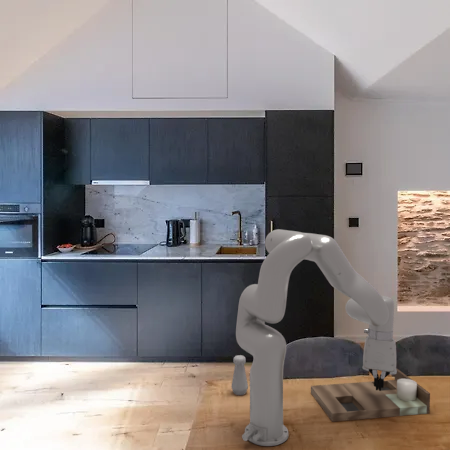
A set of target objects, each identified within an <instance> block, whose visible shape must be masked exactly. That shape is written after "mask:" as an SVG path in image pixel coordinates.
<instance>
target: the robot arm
mask: <svg viewBox="0 0 450 450" xmlns="http://www.w3.org/2000/svg"><path fill="white" fill-rule="evenodd" d="M264 246H265V247H264V248H265V250H266V251H267V253H268V254H267V256H266V257H265V258H264V260H263V262H262V263H261V266H260V269H259V275H258V281H257V283H254V284H253V283H252V284H249V285H248V286H247V287H245V288H244V290H243V291H242V292H241V295H240V297H239V300H238V301H239V302H238V307H237V308H238V310H237V317H236V328H235V338H236V343H237V345H239V347H240V348H241V349H242V350H243V351H245V352H246V353H248V354H250V355H251V356H252V357H253V361H252V364H251V366H250V371H249V423H248V424H247V425H246V426H245V428H244V433H242V435H241V438H242V440H243V441H244V442H247V441H249V442H250V443H251V444H254V445H258V446H262V447H273V446H279V445H282V444H283V443H285V442H286V441H287V440H288V438H289V430H288V428H287V426H286V425H284V366H285V365H284V364H285V359H286V354H287V342H286V339H285V337H284V335H282V333H281V332H279V331H278V330H277V329H275V328H273V327H271V326H269V325H267V324H266V323H268V324H277V323H279V322H281V321H282V320H283V318H284V316H285V313H286V308H287V299H288V298H287V297H288V290H289V289H288V288H289V281H290V277H291V274H292V271H293V270H294V269H295V267H297V266H298V264H300V263H301V262H302V261H303V260H307V261H310V262H314V263H315V264H316V265H317V267H318V268H319V269H320V271H321V272H322V274H323V275H324V277H325V279H326V280H327V281H328V283H329V284H330V285H331V286H332V287H333V288H334V289H335V290H337V291H338V292H339V293H341V294H343V295H345V296H347V297H348V298H349V299H348V300H347V302H345V312H346V314H347V315H348V316H349V317H350V318H351V319H353V320H356V321H358V322H361V323H364V324H367V325H368V328H364V329H363V330H364V331H363V333H364V334H367V335H366V337H365V341H364V345H363V346H364V347H363V357H362V367H361V368H362V370H364V371H367V372H369V373H370V374H371V375H372V377H373V381H374V386H375V387H376V390H378V388H379V391H381V387H382V388H383V387H384V381H385V378H387V377H388V376H389V375H395V374H396V373H397V370H396V369H397V345H396V340H395V338H394V322H395V321H394V319H395V318H394V316H395V301H394V299H393V298H391V297H390V296H386V295H381V294H380V292H379V291H378V290H377V289H376V288H375V286H373V284H371V283H370V282H369V281H367V280H366V279H365V277H363V276H362V275H361V274H360V273H358V272H357V271H356V270H355V269H354V267H353V265H352V264H351V263H350V261H349V259H348V258H347V256H346V255H345V253H344V252H343V250H342V248H341V247H340V244H338V242H337V241H336V239H335V238H333V237H331V236H329V235H326V234H320V233H319V234H317V233H311V232H301V231H295V230H287V229H282V228H281V229H279V228H278V229H274V230H272V231H270V232H269V233H268V234H267V235H266V238H265V240H264ZM378 371H381V374H380V375H379V373H378Z"/></svg>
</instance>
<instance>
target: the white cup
mask: <svg viewBox="0 0 450 450" xmlns="http://www.w3.org/2000/svg"><path fill="white" fill-rule="evenodd" d="M411 379H412V378H410V379H398V380H397V397H398V398H399V399H401V400H404V401H415V400H416V399H417V384H418V382H417V381H415V380H413V379H412V380H411Z"/></svg>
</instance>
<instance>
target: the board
mask: <svg viewBox="0 0 450 450" xmlns="http://www.w3.org/2000/svg"><path fill="white" fill-rule="evenodd" d="M396 370H397V373H396V374H394V379H388V380H386V379H384V387H383V388H382V387H381V391H379V388H378V390H376V387H375V386H374V380H373V381H361V382H346V383H345V382H344V383H334V384H333V383H332V384H331V383H330V384H322V385H321V384H320V385H319V384H318V385H311V386H310V394H311V396H313V398H314V400H315V401H316V402H317V403H318V404H319V406H320V407H321V408H322V410H323V411H324V412H325V415H326V416H327V417H328V418H329V420H330V421H331V422H344V421H353V420H354V421H355V420H367V419H376V418H391V417H401V416H402V417H403V416H404V417H405V416H411V415H412V416H413V415H414V416H415V415H426V414H430V412H431V411H430V410H431V408H430V407H431V393H430V392H429V391H428V390H426V389H425V388H424V387H423V386H421V385H420V384H418V383H417V399H416V400H415V401H404V400H401V399H399V398H398V397H397V380H398V379H411V380H413V379H412V378H410V377H409V376H408V375H406V374H405V373H404V372H403V371H401V370H400V369H398V368H396Z"/></svg>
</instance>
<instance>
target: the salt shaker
mask: <svg viewBox="0 0 450 450" xmlns="http://www.w3.org/2000/svg"><path fill="white" fill-rule="evenodd" d="M246 362H247V361H246V357H245V356H244V355H241V354H240V355H237V354H236V355H235V356H234V357H233V365H234V369H233V375H232V381H231V389H232V393H233V394H234V395H236V396H244V395H246V393H247V391H248V389H249V385H248V384H249V383H248V381H247V373H246V368H245V367H246V366H245V364H246Z"/></svg>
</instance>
